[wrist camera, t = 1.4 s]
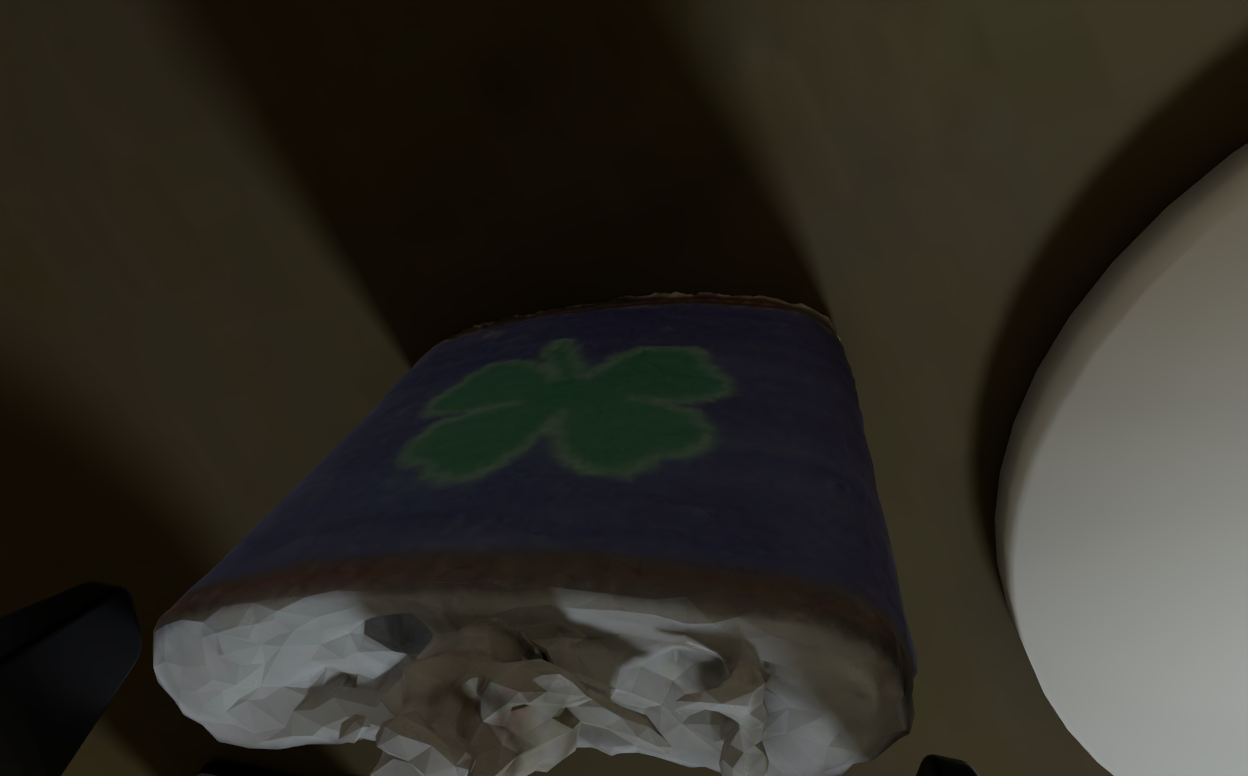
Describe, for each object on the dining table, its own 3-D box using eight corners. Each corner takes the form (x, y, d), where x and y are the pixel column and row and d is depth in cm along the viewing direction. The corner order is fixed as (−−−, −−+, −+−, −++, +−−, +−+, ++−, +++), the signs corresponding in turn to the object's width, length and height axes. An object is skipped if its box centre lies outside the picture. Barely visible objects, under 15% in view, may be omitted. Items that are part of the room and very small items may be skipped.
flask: (438, 432, 18) (63, 898, 8) (406, 313, 17) (-75, 697, 7) (849, 411, 16) (976, 984, 6) (846, 275, 15) (995, 729, 5)
